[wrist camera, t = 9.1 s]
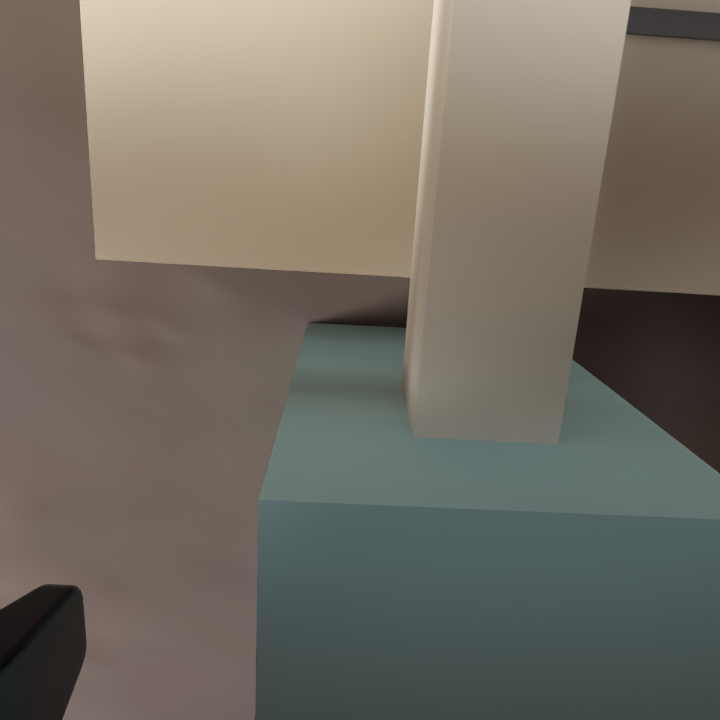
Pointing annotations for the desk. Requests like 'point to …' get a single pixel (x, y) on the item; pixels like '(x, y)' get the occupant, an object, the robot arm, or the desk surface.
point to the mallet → (488, 437)
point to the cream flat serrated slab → (365, 138)
